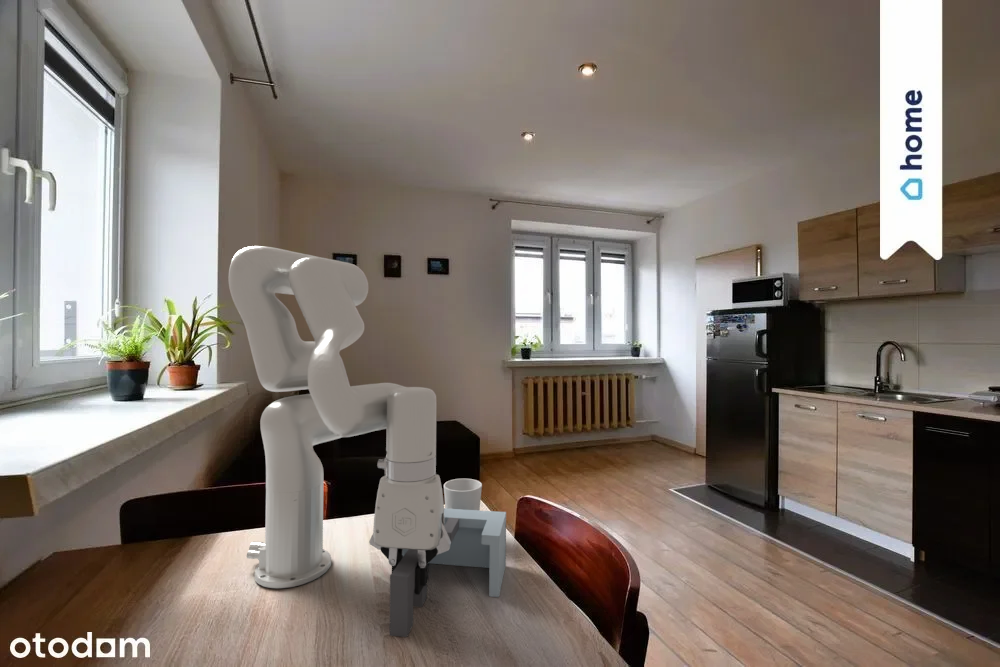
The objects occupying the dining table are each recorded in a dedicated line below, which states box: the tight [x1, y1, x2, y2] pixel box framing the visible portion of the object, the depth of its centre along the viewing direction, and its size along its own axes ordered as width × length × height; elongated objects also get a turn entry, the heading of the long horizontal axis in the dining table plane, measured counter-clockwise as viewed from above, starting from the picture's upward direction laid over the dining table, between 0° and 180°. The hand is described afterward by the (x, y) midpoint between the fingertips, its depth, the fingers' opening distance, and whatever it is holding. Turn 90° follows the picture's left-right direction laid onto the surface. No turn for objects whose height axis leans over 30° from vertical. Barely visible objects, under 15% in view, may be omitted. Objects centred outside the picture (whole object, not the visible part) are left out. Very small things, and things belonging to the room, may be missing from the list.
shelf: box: [402, 507, 507, 598], centre depth 78 cm, size 18×10×10 cm, turn 83°
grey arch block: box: [389, 549, 428, 638], centre depth 67 cm, size 10×3×8 cm, turn 173°
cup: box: [443, 478, 483, 511], centre depth 91 cm, size 8×8×12 cm
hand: (409, 587), depth 67 cm, fingers closed on grey arch block, 2 cm apart
